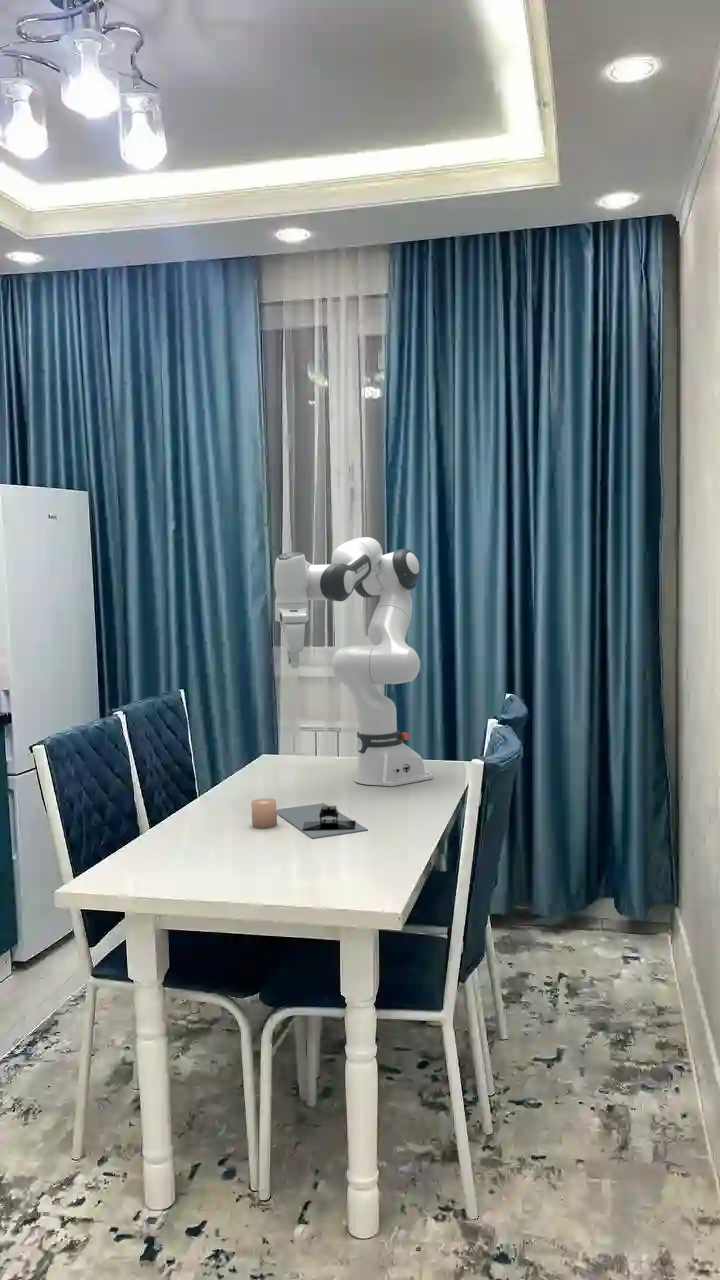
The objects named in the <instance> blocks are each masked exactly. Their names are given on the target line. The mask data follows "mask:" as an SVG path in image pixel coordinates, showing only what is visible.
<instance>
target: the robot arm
mask: <svg viewBox="0 0 720 1280" xmlns="http://www.w3.org/2000/svg"><path fill="white" fill-rule="evenodd" d="M330 562H331V563H330V564H326V563H325V564H312V563H310V562H309V561H307V560H306V556H305V554H304V553H302V552H300V551H294V552H293V551H292V552H285V553H282V554H280V555H278V556H277V557H276V559H275V565H274V573H273V575H274V577H273V579H274V580H273V582H274V584H273V585H274V590H275V599H274V600H275V601H274V620H275V622H279V624H280V625H279V626H280V628H282V643H283V647H285V648H286V654H287V663H288V665H290V666H291V667H290V668H292V669H299V659H300V653H302V652H303V651H304V646H305V633H306V624H305V623H307V622H308V621H309V620H310V618H309V614H310V613H309V601H333V602H344V601H346V600H348V598H349V597H350V596H351V594H352V593H353V591H354V590H355V592H356V594H358V595H359V596H361V597H362V598H364V599H365V598H366V599H368V598H369V599H370V598H375V597H377V596H379V602H378V603H377V605H376V608H375V610H374V612H373V615H372V617H371V620H370V624H369V626H368V629H367V636H368V639H369V641H370V642H371V643H372V644H371V645H366V644H365V645H361V644H360V645H350V646H344V647H341V648H338V649H337V650H336V651H335V652H334V655H333V657H332V660H331V668H332V671H333V674H334V676H335V678H336V679H337V680H338V681H340V683H342V684H343V685H344V686H345V687H346V688H347V690H349V692H350V693H351V696H352V698H353V699H354V703H355V705H356V713H357V725H358V726H357V727H358V729H357V730H358V731H357V733H356V746H357V747H356V748H357V752H358V753H357V755H358V757H357V765H356V766H357V767H356V772H355V776H354V782H355V783H358V784H361V785H367V786H368V785H369V786H383V787H395V786H401V785H406V784H412V783H417V782H421V781H422V782H423V781H428V780H432V779H433V773H432V772H430V771H428V770H427V769H425V766H424V765H425V764H424V760H423V758H422V755H420V754H419V753H418V752H417V751H415V750H413V749H412V748H411V747H409V746H408V745H406V744H405V743H404V741H407V740H409V739H410V734H409V733H407V732H405V731H403V732H402V731H399V730H398V727H397V726H398V724H397V721H398V720H397V707H396V704H395V703H394V701H393V700H392V699H391V698H389V697H388V696H386V695H384V694H382V693H381V692H380V690H379V688H378V686H377V685H379V684H380V685H399V684H405V683H409V682H413V681H414V680H415V679H416V678H417V676H418V674H419V672H420V669H421V661H420V657H419V654H418V653H417V652H416V650H415V649H414V648H413V647H411V646H409V645H408V643H406V637H407V632H408V629H409V625H410V623H411V619H412V613H413V600H412V597H411V596H410V594H409V591H411V590H413V589H415V587H416V586H417V585H416V582H417V580H418V578H419V575H420V572H421V565H420V564H421V563H420V561H419V558H418V557H417V555H416V554H415V552H413V551H412V550H411V549H408V548H401V549H396V550H395V551H392V552H388V553H385V554H383V547H382V546H381V544H380V542H379V541H378V540H377V539H375V538H373V537H371V536H370V537H369V536H368V537H367V536H364V537H363V536H362V537H356V538H354V539H351V540H348V541H346V542H344V543H342V544H340V545H339V546H337V547H336V549H335V550H333V552H332V555H331V561H330Z"/></svg>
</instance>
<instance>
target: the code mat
mask: <svg viewBox="0 0 720 1280" xmlns="http://www.w3.org/2000/svg"><path fill="white" fill-rule="evenodd" d="M322 806H329V804H326V803H324V802H322V803H314V804H307V805H300V806H293V807H286V808H285V807H284V808H278V809H277V808H276V809H277V816H279V817H280V818H282V819H283V820H285V821H286V822H288V823H289V824H290V825H292V826H293V827H295V828H297V830H299V831H300V832H302V833H303V834H305V835H306V836H307V837H309V838H310V839H312V840H314V839H321V838H328V837H334V836H339V835H340V836H341V835H347V834H354V833H361V832H367V831H368V828H367V827H365V826H363V825H361V824H360V823H358V822H356V823H355V829H354V830H317V831H302V829H303V826H304V822H311V821H320V817H319V815H320V810H321V807H322ZM338 812H339V811H338ZM324 819H326V820H333V819H335V820H336V817H332V816H327V817H322V820H324ZM352 820H353V819H351V818H350V817H348V816H347V815H345V814H344V813H341V812H339V814H338V821H352Z"/></svg>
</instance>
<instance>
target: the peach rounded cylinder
mask: <svg viewBox="0 0 720 1280" xmlns="http://www.w3.org/2000/svg"><path fill="white" fill-rule="evenodd" d="M250 805H251V822H252V824H251V825H252V826H251V827H253V828H254V829H260V830H262V829H263V830H264V829H271V828H275V827H277V826H278V817H277V816H278V814H277V800H276V799H275V798H270V797H269V798H268V797H264V798H263V797H262V798H257V799H256V798H255V799H253V800H251V804H250Z"/></svg>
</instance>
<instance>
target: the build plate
mask: <svg viewBox="0 0 720 1280" xmlns="http://www.w3.org/2000/svg"><path fill="white" fill-rule="evenodd" d="M338 814H339V809H337V805H328V806H322V807H321V810H320V815H319V817H320V821H311V822H304V826H303V829H302V831H317V830H354V829H355V823H357V821H356V820H353V819H351V820H352V821H338ZM327 816H332V817H336V820H335V819H333V820H326V819H324V820H322V817H327ZM302 831H301V832H302Z"/></svg>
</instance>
